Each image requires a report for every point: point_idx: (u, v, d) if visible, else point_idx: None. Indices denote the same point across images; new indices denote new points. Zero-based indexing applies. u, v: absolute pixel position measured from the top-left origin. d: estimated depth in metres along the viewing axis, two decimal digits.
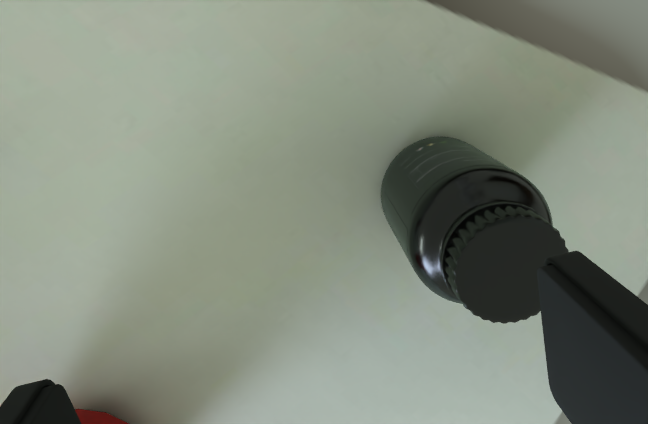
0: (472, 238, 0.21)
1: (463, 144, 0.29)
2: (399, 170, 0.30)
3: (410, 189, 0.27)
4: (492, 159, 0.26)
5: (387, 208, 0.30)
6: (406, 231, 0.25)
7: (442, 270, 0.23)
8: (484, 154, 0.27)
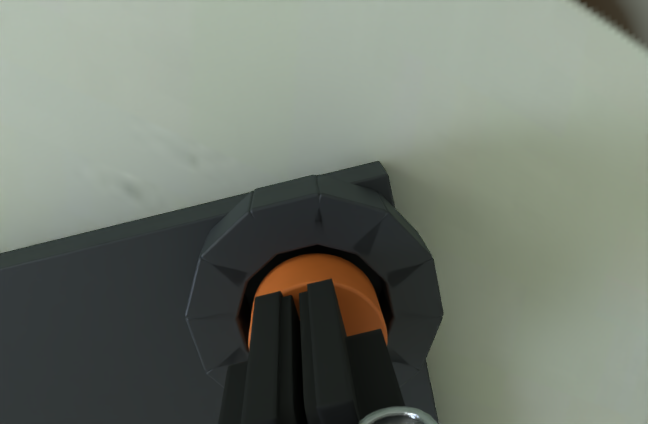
0: None
1: None
2: None
3: None
4: None
5: None
6: None
7: None
8: None
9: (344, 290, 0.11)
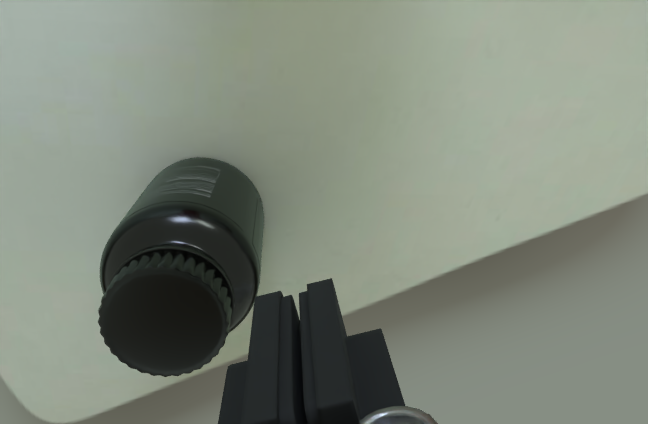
0: (225, 318, 0.20)
1: None
2: (262, 220, 0.29)
3: (259, 241, 0.26)
4: None
5: (241, 186, 0.28)
6: (240, 227, 0.23)
7: (204, 257, 0.21)
8: None
9: None
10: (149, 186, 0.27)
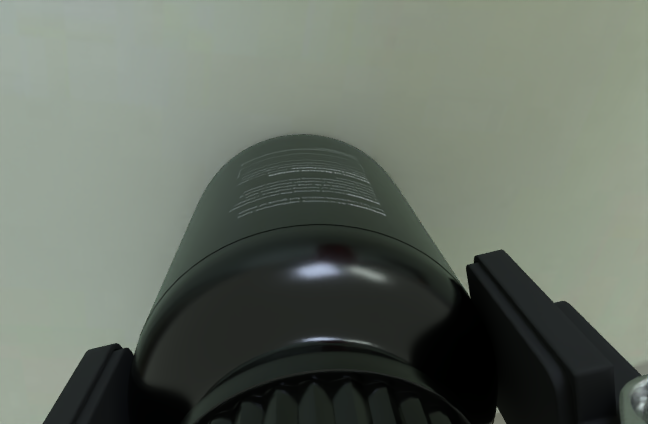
0: None
1: None
2: None
3: None
4: None
5: (399, 192, 0.14)
6: (465, 291, 0.10)
7: (440, 396, 0.07)
8: None
9: None
10: (224, 183, 0.13)
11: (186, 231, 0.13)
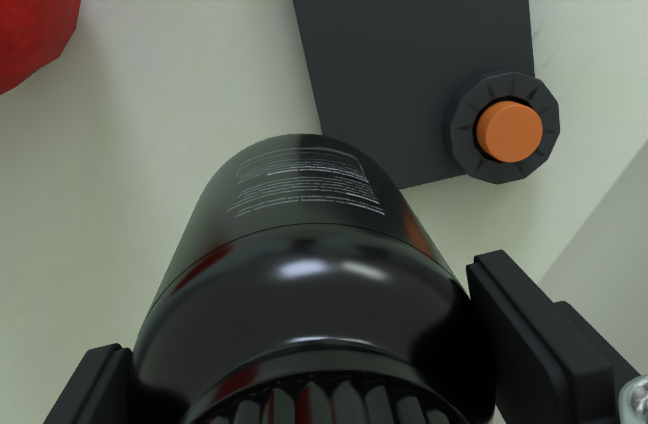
0: None
1: None
2: None
3: None
4: None
5: (398, 191, 0.14)
6: (464, 290, 0.10)
7: (438, 395, 0.07)
8: None
9: (537, 144, 0.28)
10: (223, 182, 0.13)
11: (185, 230, 0.13)
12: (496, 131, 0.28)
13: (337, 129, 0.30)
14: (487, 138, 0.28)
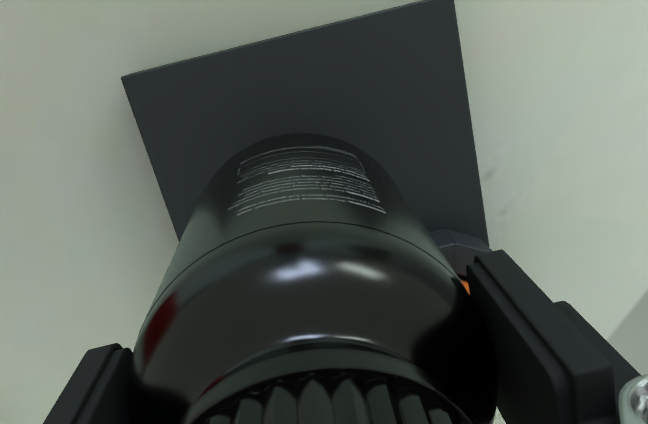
0: None
1: None
2: None
3: None
4: None
5: (399, 190, 0.14)
6: (464, 288, 0.10)
7: (440, 393, 0.07)
8: None
9: None
10: (224, 181, 0.13)
11: (185, 229, 0.13)
12: None
13: None
14: None
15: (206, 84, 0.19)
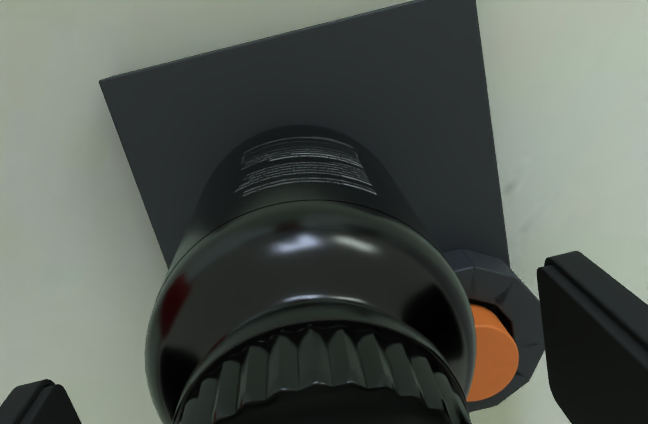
0: None
1: None
2: None
3: None
4: None
5: (390, 177, 0.15)
6: (447, 261, 0.11)
7: (421, 343, 0.08)
8: None
9: (511, 377, 0.18)
10: (229, 169, 0.15)
11: (194, 212, 0.14)
12: None
13: None
14: None
15: (195, 89, 0.17)
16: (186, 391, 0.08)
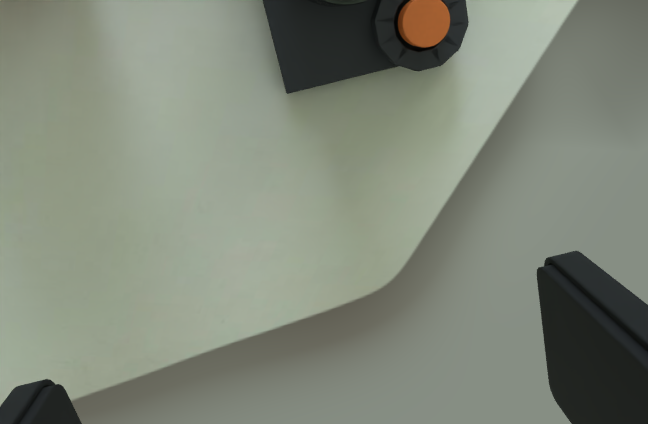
0: None
1: None
2: None
3: None
4: None
5: None
6: None
7: None
8: None
9: (446, 31, 0.34)
10: None
11: None
12: (411, 19, 0.33)
13: (282, 26, 0.36)
14: (403, 25, 0.33)
15: None
16: None
